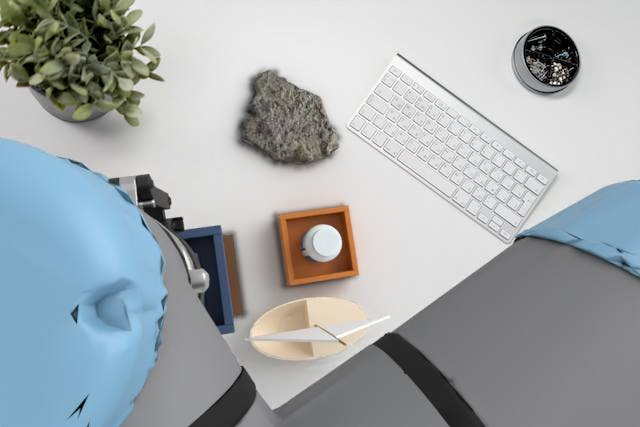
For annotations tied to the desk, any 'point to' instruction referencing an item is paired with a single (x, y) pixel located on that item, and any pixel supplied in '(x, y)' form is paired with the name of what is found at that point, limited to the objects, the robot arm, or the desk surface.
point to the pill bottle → (320, 243)
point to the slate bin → (218, 274)
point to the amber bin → (307, 271)
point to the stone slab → (288, 122)
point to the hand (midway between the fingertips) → (175, 286)
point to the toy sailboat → (309, 328)
